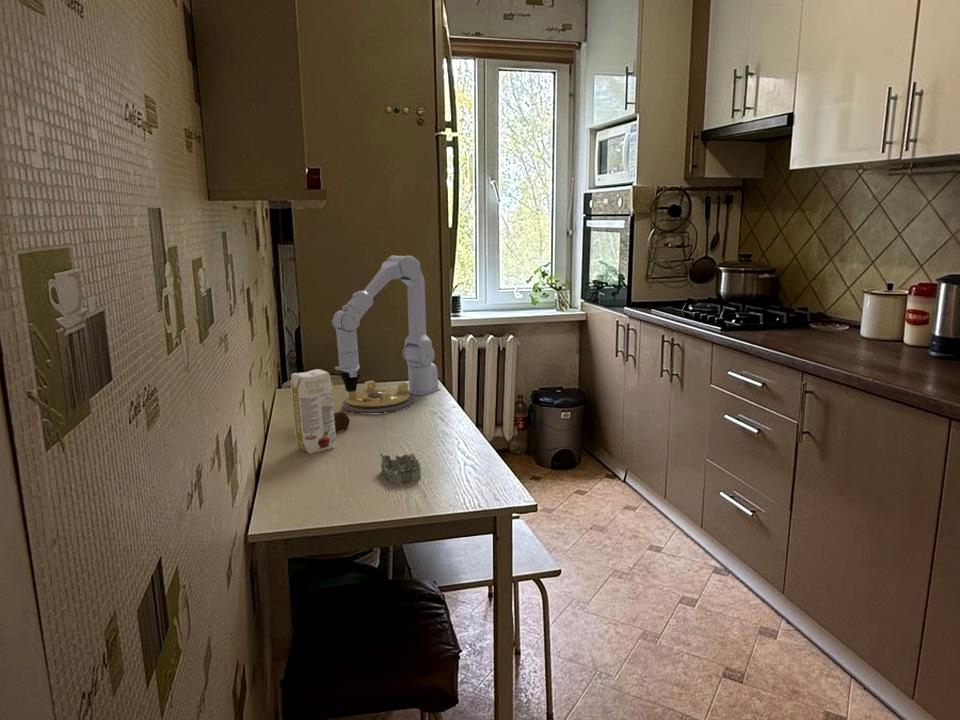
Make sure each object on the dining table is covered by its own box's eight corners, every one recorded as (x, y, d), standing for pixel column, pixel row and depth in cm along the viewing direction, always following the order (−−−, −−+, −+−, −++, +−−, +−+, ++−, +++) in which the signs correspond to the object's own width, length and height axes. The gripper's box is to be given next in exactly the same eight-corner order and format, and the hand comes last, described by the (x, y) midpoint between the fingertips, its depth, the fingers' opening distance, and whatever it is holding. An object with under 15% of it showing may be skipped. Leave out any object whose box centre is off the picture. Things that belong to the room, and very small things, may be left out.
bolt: (319, 425, 189) (344, 435, 177) (304, 420, 186) (328, 430, 174) (327, 406, 190) (352, 415, 178) (312, 400, 187) (336, 409, 175)
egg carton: (379, 470, 148) (378, 452, 147) (413, 465, 150) (412, 448, 150) (388, 487, 138) (387, 468, 137) (423, 481, 140) (422, 463, 140)
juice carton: (339, 447, 163) (333, 372, 159) (307, 456, 158) (300, 378, 154) (325, 440, 169) (319, 367, 165) (293, 448, 164) (286, 373, 160)
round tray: (366, 390, 213) (365, 378, 213) (420, 393, 207) (419, 381, 206) (333, 406, 196) (332, 393, 195) (391, 410, 189) (390, 396, 189)
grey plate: (378, 392, 216) (378, 388, 216) (427, 400, 204) (427, 396, 203) (328, 408, 200) (328, 403, 199) (378, 418, 187) (377, 413, 187)
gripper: (330, 348, 201) (334, 392, 204) (337, 357, 188) (341, 403, 191) (354, 346, 204) (357, 389, 206) (362, 354, 190) (366, 400, 193)
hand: (351, 396), depth 199 cm, fingers closed, pressing on round tray
